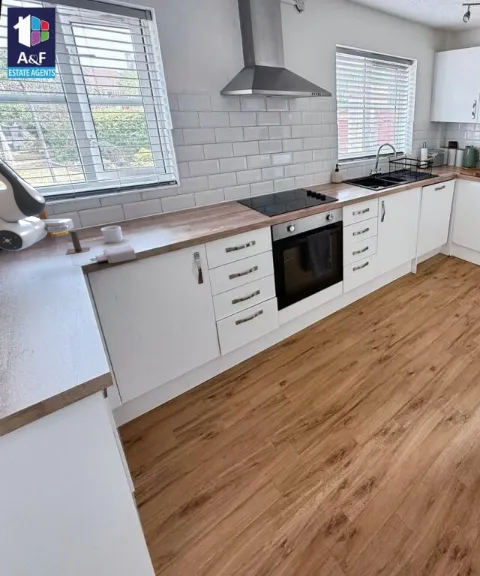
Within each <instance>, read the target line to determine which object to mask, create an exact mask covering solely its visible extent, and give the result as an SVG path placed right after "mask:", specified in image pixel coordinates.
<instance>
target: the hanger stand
mask: <svg viewBox="0 0 480 576" xmlns="http://www.w3.org/2000/svg"><path fill="white" fill-rule="evenodd" d="M77 231H78V230H77V229H70V230H68V232H69V235H70V239H71V242H72V245H73V248H67V250H66V253H65V256H67V255H75V254H81V253H87V252H88V253H89V252H90V250H91V246H86V247H85V246H84V247H82V245H81V242H80V239H79V235H78V232H77Z"/></svg>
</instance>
